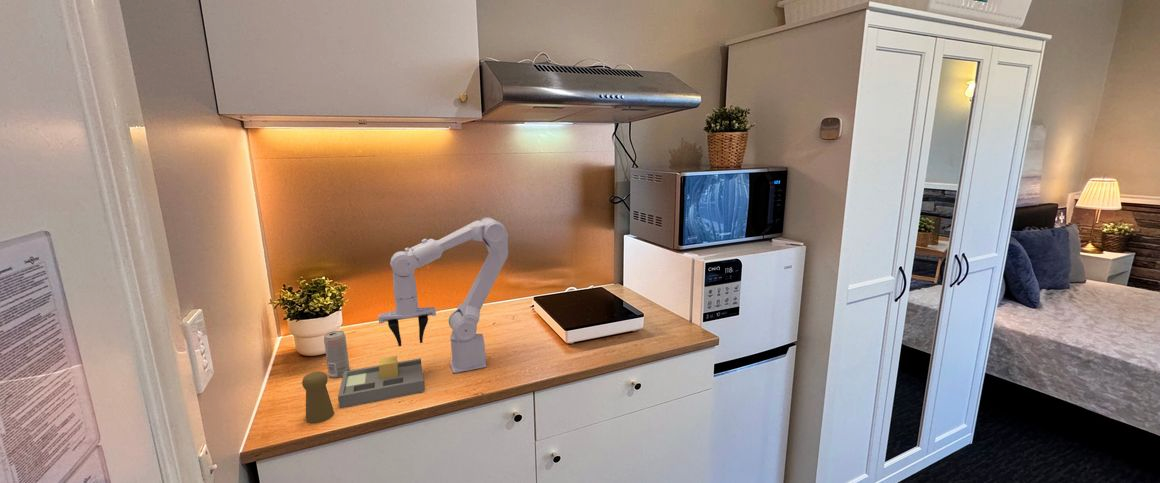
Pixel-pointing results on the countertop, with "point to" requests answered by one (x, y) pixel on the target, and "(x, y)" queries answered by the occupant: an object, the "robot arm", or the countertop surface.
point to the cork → (317, 398)
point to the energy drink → (336, 353)
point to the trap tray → (380, 384)
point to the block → (388, 367)
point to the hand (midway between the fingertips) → (410, 343)
